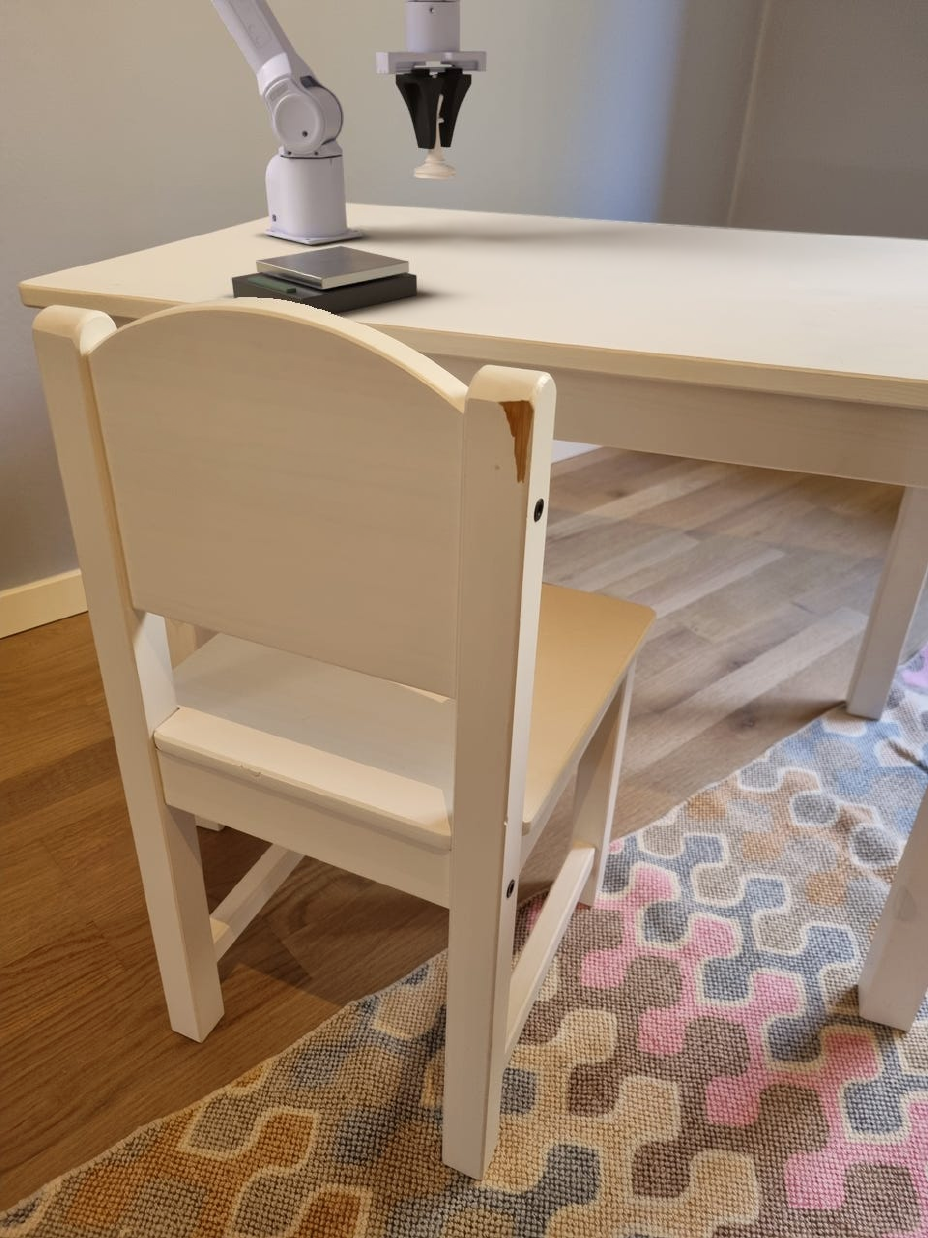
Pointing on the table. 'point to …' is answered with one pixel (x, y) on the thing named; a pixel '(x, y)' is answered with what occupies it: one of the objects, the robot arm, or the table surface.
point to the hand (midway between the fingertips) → (434, 147)
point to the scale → (326, 291)
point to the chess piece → (435, 157)
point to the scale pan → (332, 267)
